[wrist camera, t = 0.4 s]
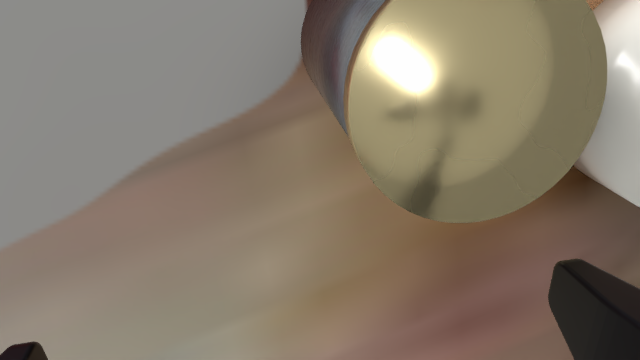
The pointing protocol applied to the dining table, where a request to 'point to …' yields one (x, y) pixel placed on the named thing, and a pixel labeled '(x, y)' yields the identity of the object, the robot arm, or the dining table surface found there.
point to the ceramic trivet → (618, 104)
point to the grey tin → (460, 96)
